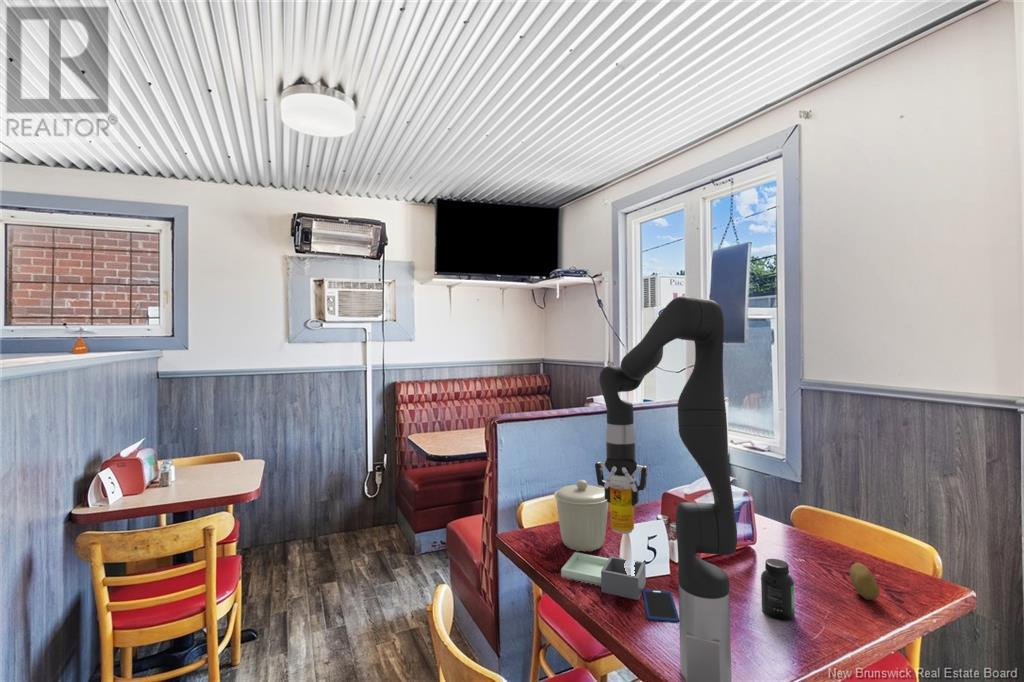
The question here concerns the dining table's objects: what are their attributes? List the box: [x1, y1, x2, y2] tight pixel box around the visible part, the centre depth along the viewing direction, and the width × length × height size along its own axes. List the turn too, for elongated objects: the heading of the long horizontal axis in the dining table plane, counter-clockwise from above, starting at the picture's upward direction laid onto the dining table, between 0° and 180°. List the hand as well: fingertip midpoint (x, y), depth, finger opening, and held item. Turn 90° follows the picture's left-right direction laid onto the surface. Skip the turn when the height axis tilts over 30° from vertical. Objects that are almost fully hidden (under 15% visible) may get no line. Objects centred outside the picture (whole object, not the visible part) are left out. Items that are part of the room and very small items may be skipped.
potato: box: [849, 562, 881, 601], centre depth 119 cm, size 7×8×8 cm
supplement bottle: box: [760, 558, 796, 622], centre depth 112 cm, size 7×7×12 cm
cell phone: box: [641, 588, 679, 624], centre depth 117 cm, size 7×14×1 cm, turn 170°
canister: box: [553, 479, 609, 552], centre depth 152 cm, size 18×18×21 cm
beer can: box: [609, 475, 635, 535], centre depth 126 cm, size 6×6×15 cm
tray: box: [560, 551, 610, 587], centre depth 134 cm, size 12×12×2 cm
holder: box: [600, 555, 647, 601], centre depth 126 cm, size 10×10×6 cm
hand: (621, 503), depth 126 cm, fingers closed on beer can, 6 cm apart
